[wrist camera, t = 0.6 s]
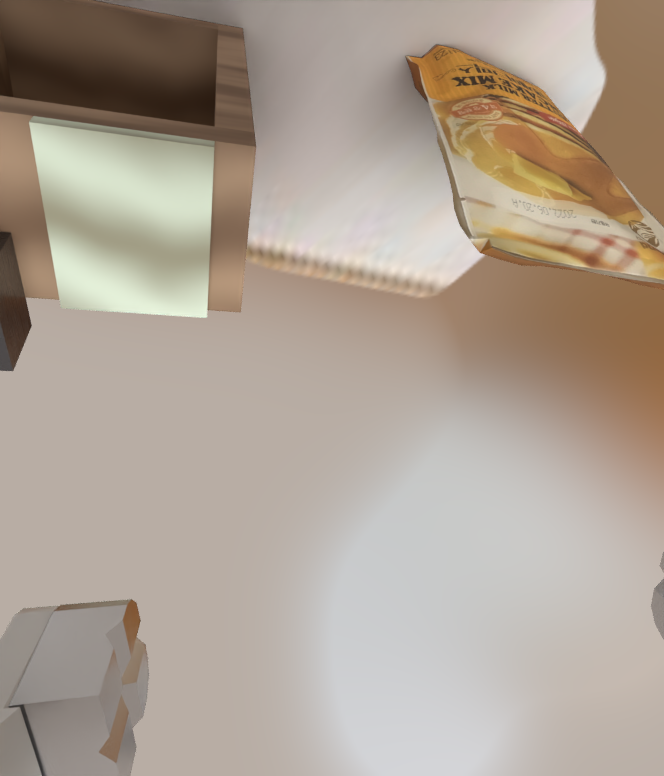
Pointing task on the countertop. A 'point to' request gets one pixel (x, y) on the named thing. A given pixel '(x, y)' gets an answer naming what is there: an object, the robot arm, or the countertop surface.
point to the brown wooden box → (125, 156)
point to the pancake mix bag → (532, 175)
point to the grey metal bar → (11, 306)
